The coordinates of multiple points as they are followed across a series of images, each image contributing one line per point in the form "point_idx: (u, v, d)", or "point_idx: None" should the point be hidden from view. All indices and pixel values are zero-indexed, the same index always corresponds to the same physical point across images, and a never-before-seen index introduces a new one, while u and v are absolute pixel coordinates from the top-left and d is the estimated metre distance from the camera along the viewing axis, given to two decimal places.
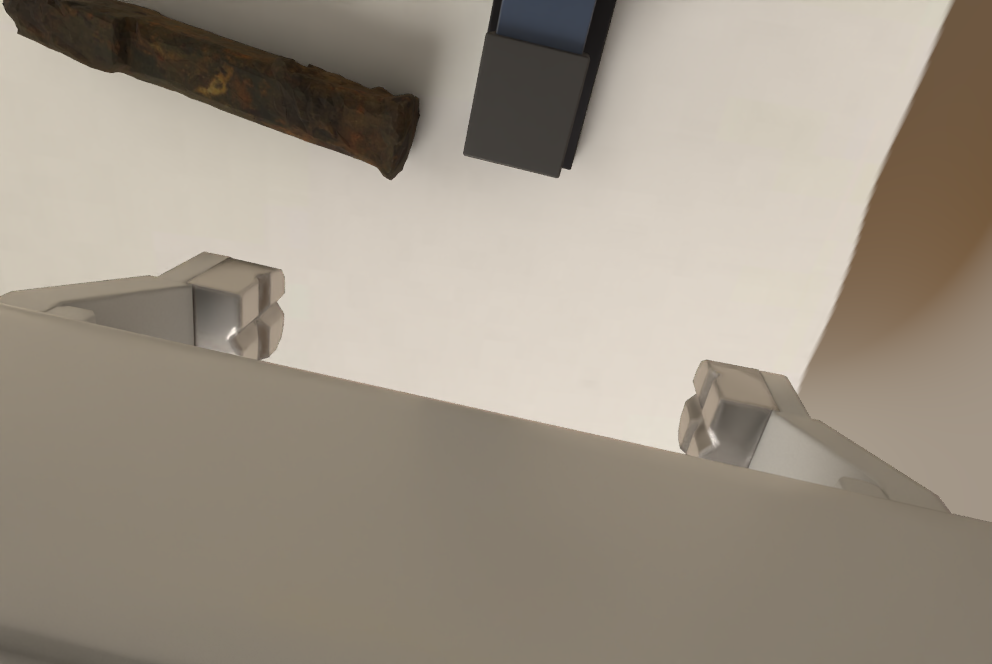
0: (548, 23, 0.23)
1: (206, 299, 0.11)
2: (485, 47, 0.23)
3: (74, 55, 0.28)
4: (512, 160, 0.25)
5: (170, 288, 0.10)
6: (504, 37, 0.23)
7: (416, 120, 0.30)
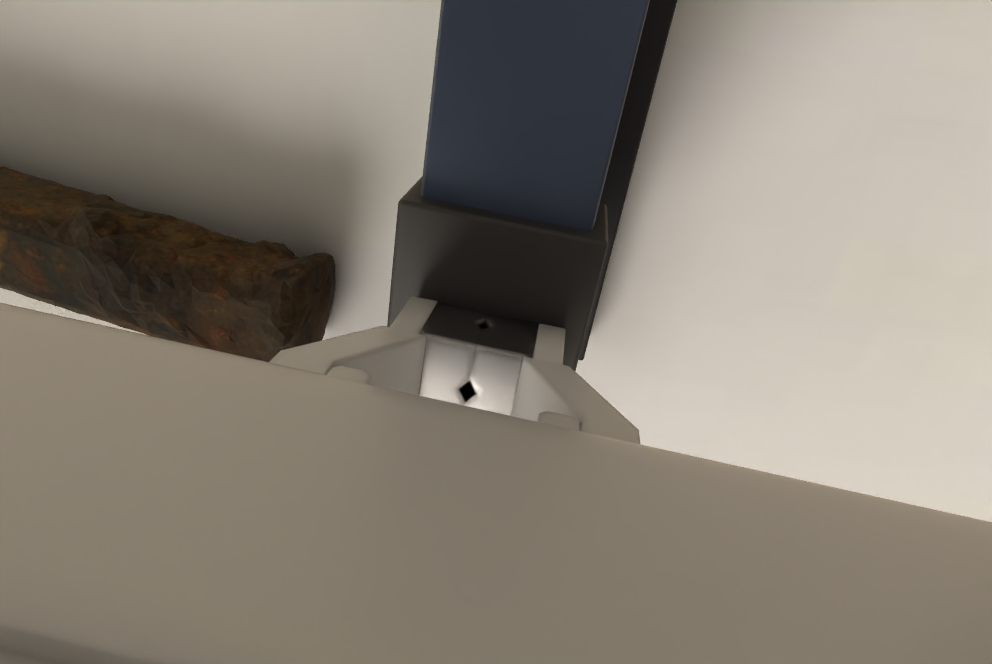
0: (521, 176, 0.11)
1: (438, 350, 0.11)
2: (400, 226, 0.12)
3: None
4: None
5: (411, 341, 0.10)
6: (435, 208, 0.11)
7: (325, 294, 0.18)
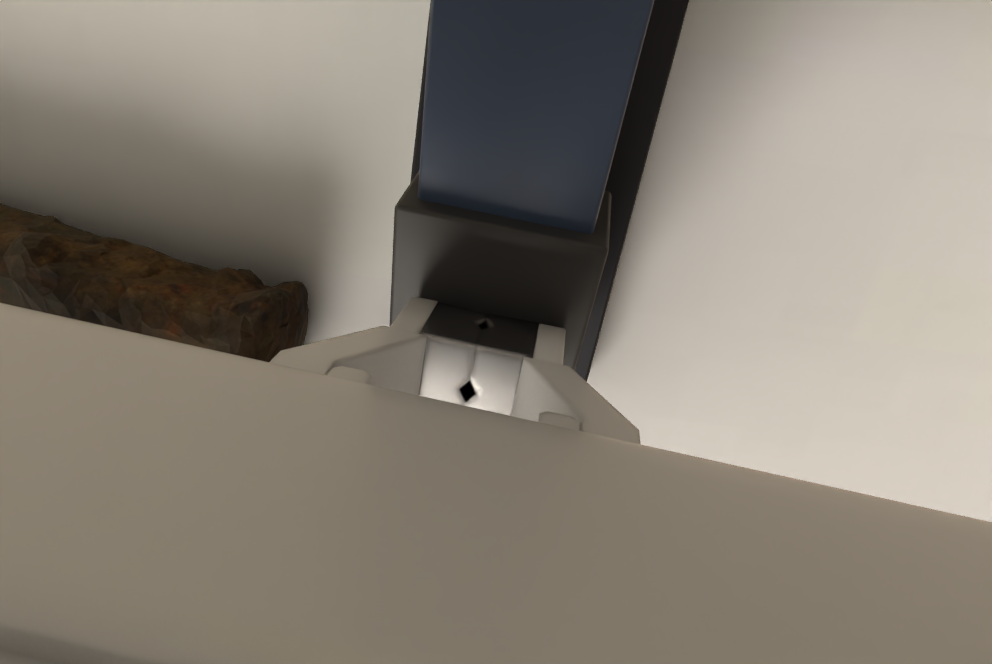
0: (520, 180, 0.11)
1: (438, 350, 0.11)
2: (397, 230, 0.11)
3: None
4: None
5: (411, 341, 0.10)
6: (431, 213, 0.11)
7: (294, 327, 0.16)
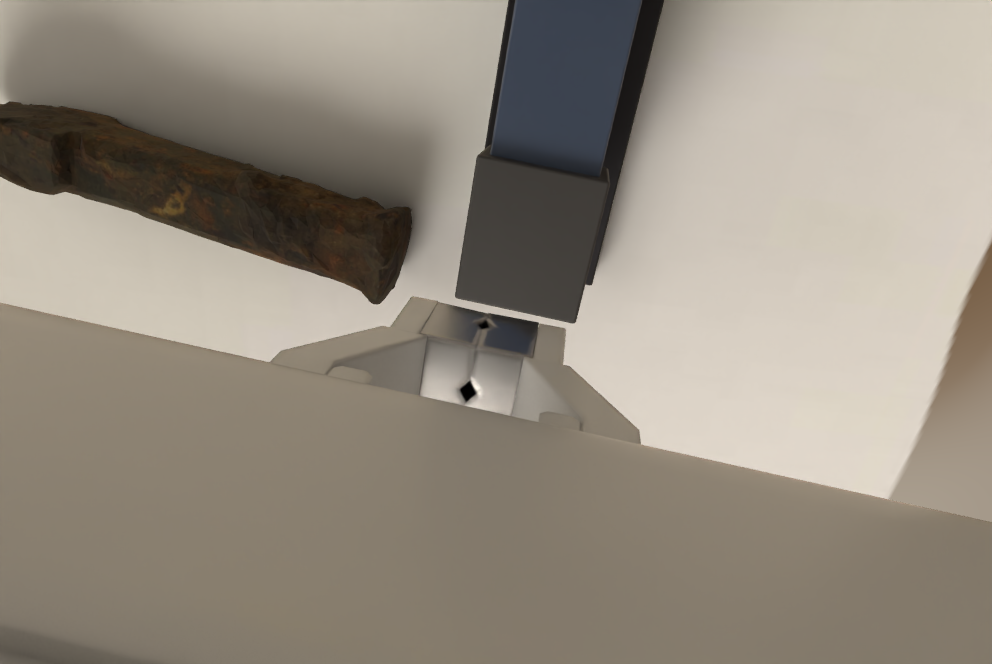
0: (555, 141, 0.18)
1: (439, 350, 0.11)
2: (477, 172, 0.18)
3: (10, 177, 0.24)
4: (516, 303, 0.20)
5: (412, 340, 0.10)
6: (500, 160, 0.18)
7: (407, 235, 0.26)
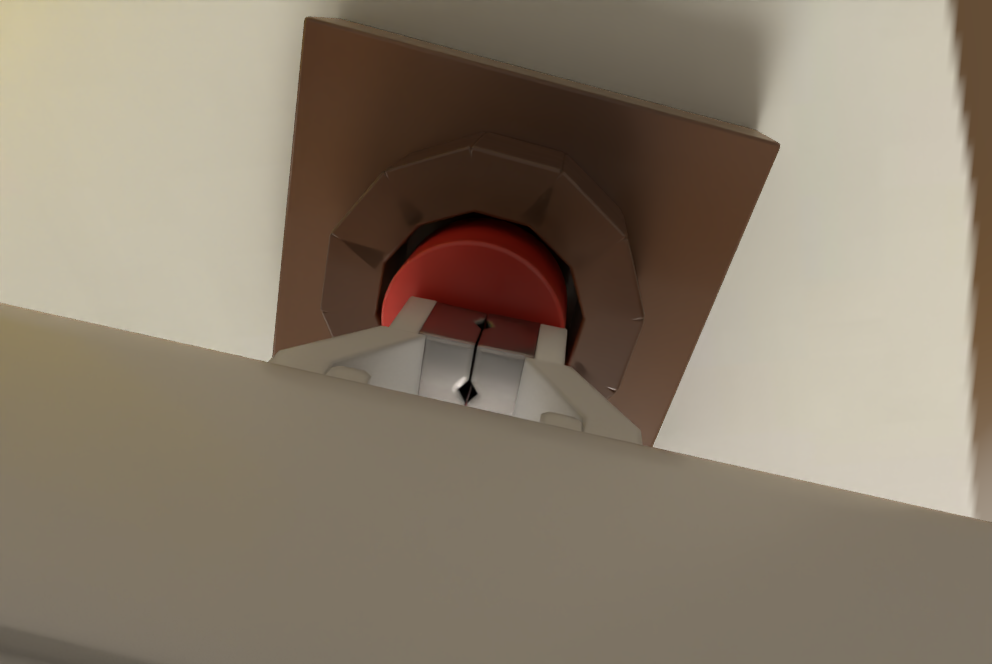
0: None
1: (437, 349, 0.11)
2: None
3: None
4: None
5: (410, 340, 0.10)
6: None
7: None
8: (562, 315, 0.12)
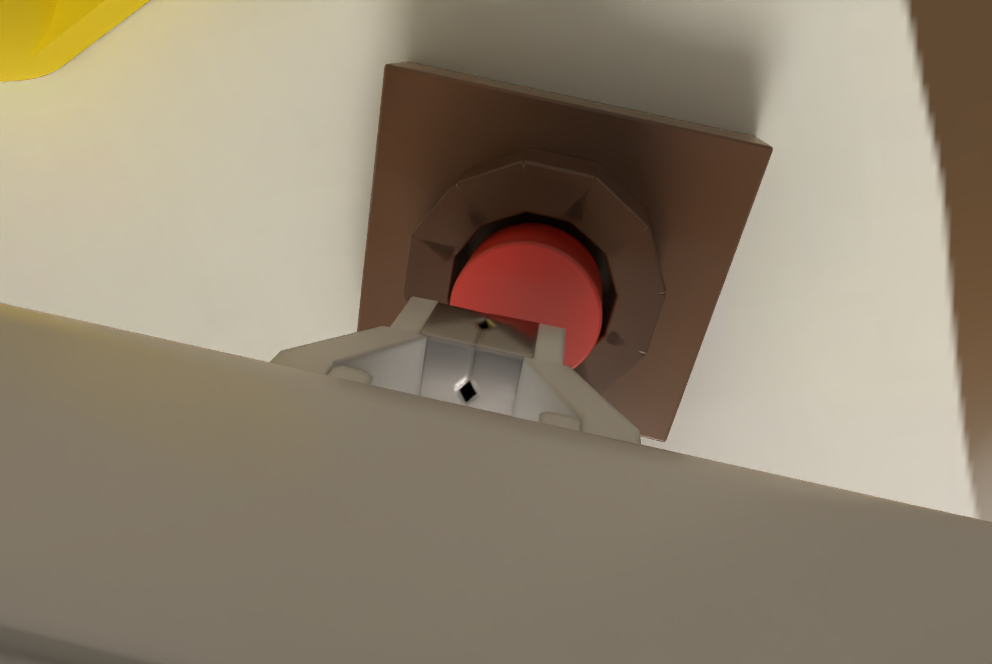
0: None
1: (439, 350, 0.11)
2: None
3: None
4: None
5: (412, 341, 0.10)
6: None
7: None
8: (599, 299, 0.15)
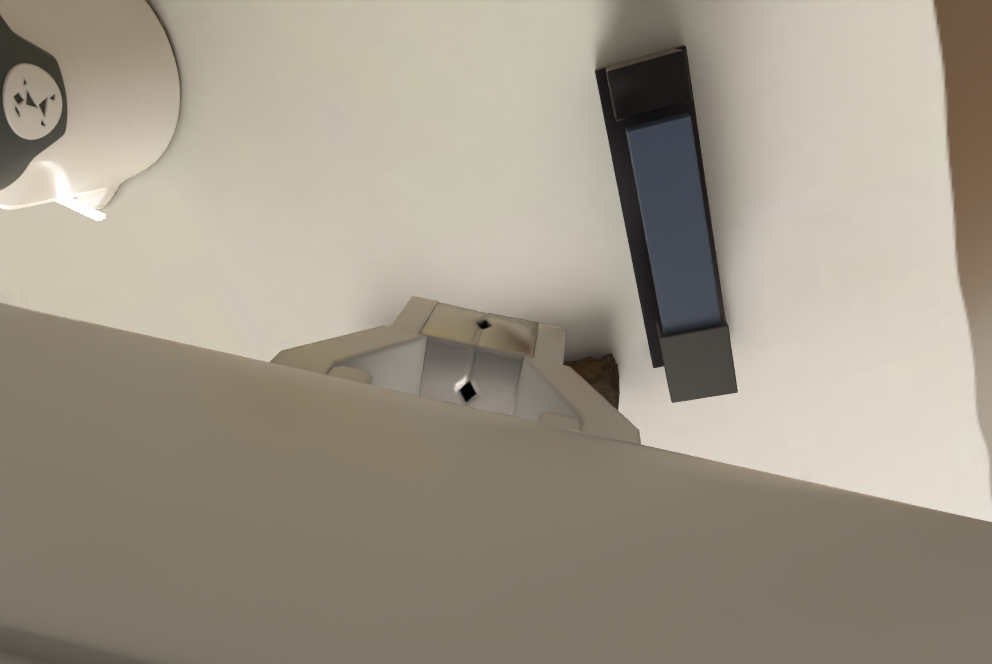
0: (693, 316, 0.36)
1: (439, 350, 0.11)
2: (662, 345, 0.37)
3: None
4: (704, 394, 0.38)
5: (412, 341, 0.10)
6: (671, 335, 0.37)
7: (617, 369, 0.45)
8: None
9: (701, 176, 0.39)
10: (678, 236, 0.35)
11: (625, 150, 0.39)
